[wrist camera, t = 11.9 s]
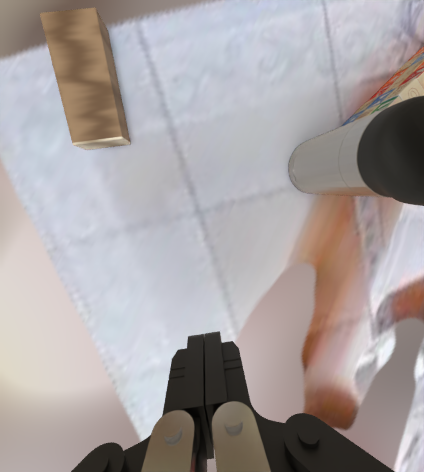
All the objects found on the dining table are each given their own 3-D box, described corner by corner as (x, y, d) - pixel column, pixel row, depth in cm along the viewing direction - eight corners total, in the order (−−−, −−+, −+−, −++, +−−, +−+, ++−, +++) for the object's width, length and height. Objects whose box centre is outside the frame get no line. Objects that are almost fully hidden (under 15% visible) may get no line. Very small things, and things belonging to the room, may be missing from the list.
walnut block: (130, 144, 38) (107, 30, 34) (122, 138, 33) (95, 7, 30) (87, 150, 37) (59, 35, 34) (73, 145, 33) (39, 13, 29)
